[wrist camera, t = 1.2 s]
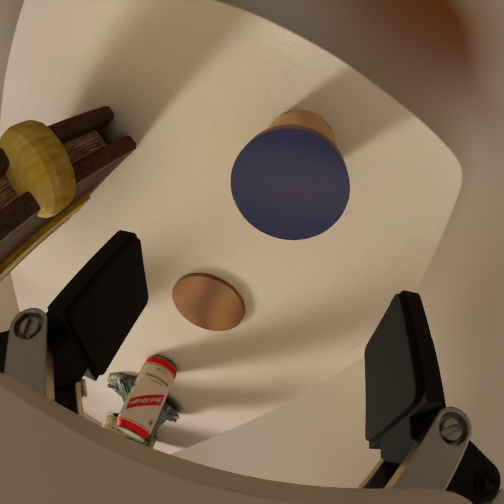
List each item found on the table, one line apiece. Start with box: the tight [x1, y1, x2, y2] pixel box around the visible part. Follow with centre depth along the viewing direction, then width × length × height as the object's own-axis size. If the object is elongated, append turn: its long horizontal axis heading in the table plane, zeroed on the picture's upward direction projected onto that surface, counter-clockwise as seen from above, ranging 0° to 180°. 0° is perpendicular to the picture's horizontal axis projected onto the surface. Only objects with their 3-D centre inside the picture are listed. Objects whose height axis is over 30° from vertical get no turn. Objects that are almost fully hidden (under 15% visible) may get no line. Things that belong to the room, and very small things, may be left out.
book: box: [0, 106, 136, 282], centre depth 22 cm, size 22×8×25 cm, turn 125°
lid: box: [231, 124, 350, 240], centre depth 18 cm, size 7×7×2 cm
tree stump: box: [107, 373, 179, 447], centre depth 59 cm, size 18×20×18 cm
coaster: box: [172, 273, 245, 331], centre depth 40 cm, size 10×10×1 cm
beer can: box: [116, 356, 177, 442], centre depth 46 cm, size 6×6×16 cm
